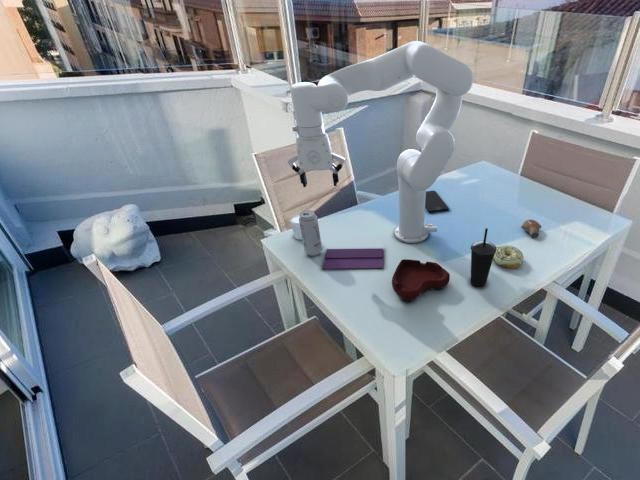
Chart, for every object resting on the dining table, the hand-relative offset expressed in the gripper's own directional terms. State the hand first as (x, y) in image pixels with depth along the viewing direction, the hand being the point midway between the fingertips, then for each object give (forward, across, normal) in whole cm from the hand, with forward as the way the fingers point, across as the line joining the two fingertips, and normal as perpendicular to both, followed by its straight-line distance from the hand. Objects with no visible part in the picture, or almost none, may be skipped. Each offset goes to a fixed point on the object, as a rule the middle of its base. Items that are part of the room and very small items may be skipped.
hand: (320, 184), depth 123 cm
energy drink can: (+24, -6, -3) cm, 25 cm away
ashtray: (+25, +29, -22) cm, 44 cm away
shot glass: (+24, -12, +8) cm, 28 cm away
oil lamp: (+26, +75, +9) cm, 80 cm away
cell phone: (+25, +39, +34) cm, 58 cm away
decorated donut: (+26, +61, -10) cm, 67 cm away
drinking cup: (+25, +49, -22) cm, 59 cm away
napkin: (+24, +9, -8) cm, 27 cm away
